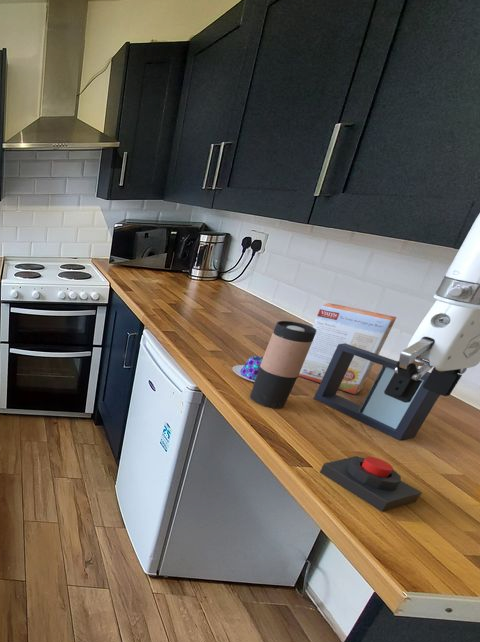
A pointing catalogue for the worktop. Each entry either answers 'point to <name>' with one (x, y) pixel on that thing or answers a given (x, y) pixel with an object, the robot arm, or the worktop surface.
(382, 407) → the window frame
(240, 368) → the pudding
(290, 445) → the worktop surface
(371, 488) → the control block
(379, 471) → the button
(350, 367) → the cracker box
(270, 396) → the travel mug
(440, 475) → the worktop surface
